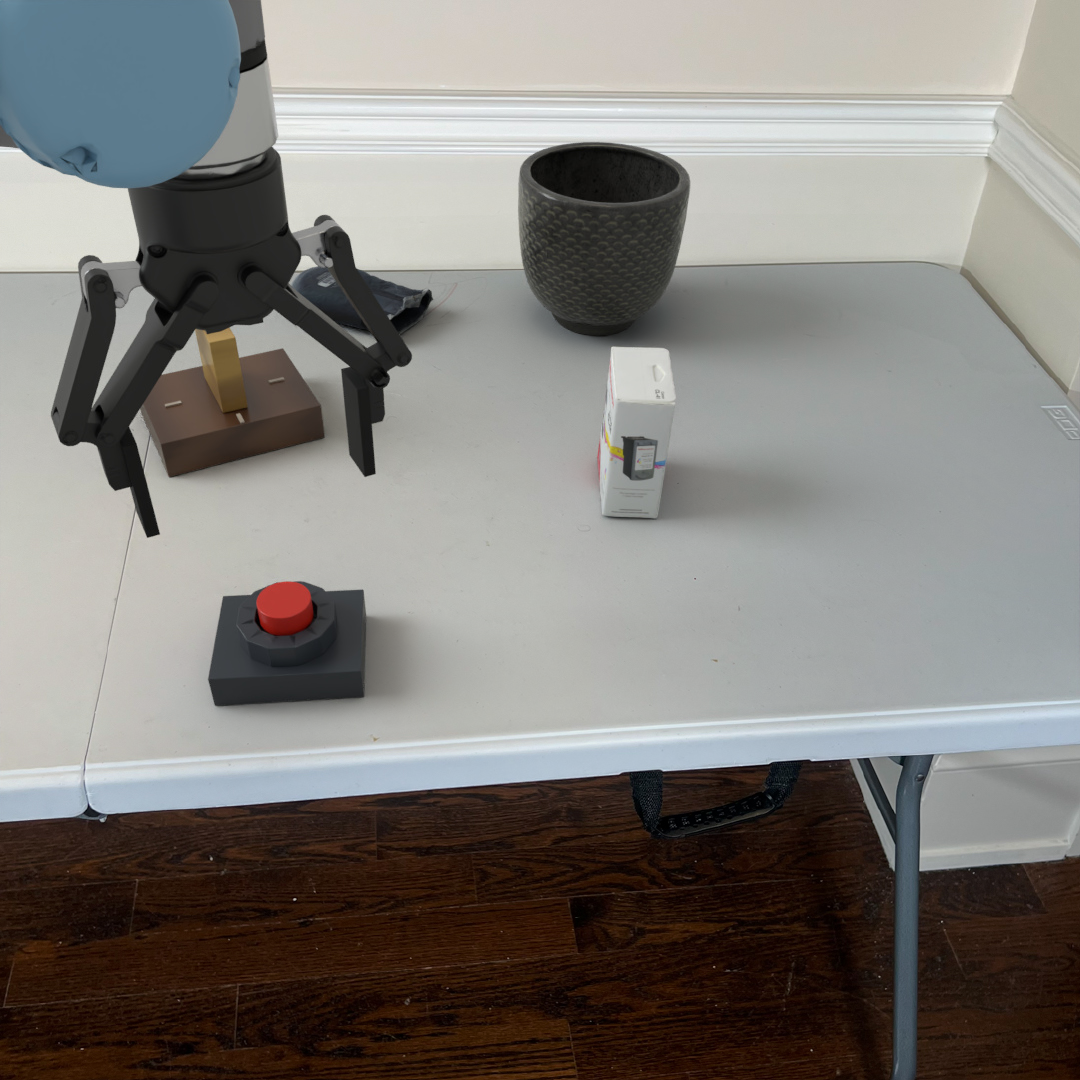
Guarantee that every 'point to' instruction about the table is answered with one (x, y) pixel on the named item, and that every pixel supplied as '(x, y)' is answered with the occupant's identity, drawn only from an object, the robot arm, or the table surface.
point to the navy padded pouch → (393, 298)
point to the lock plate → (231, 414)
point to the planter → (600, 231)
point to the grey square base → (290, 652)
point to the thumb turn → (222, 368)
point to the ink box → (635, 431)
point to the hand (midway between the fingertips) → (259, 493)
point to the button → (285, 608)
